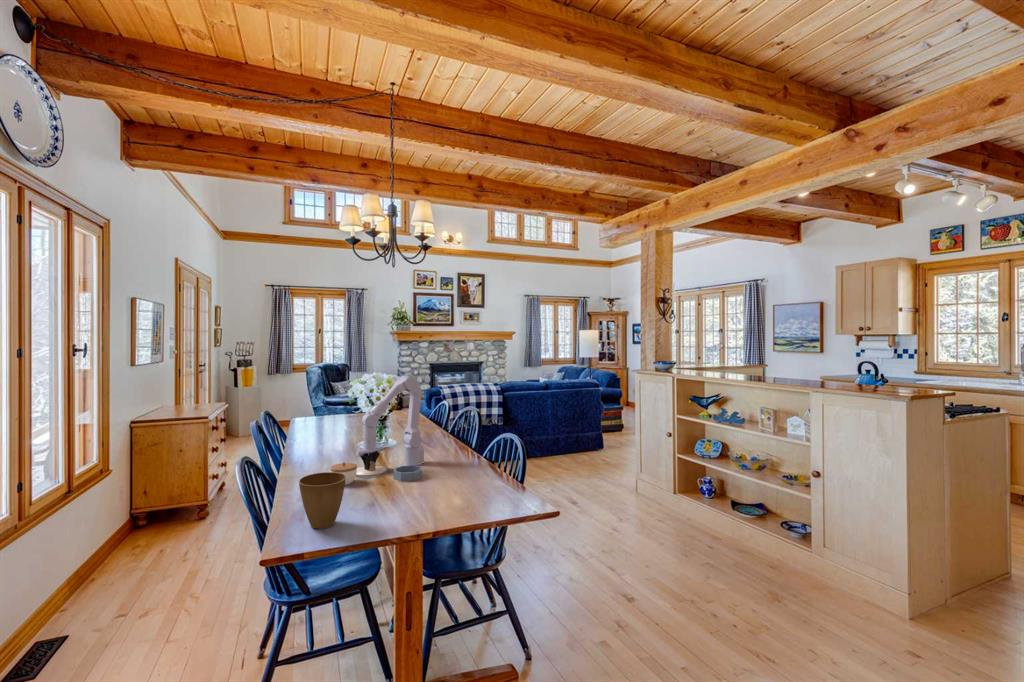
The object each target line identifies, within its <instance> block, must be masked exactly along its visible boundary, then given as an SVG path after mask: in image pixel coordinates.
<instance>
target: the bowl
mask: <svg viewBox="0 0 1024 682" xmlns="http://www.w3.org/2000/svg"><path fill="white" fill-rule="evenodd" d="M393 469H394V471H393V480H395V481H398V482H400V481H401V482H400V483H406V482H405V481H410V482H415V481H414V480H416V481H418V480H417V479H419V478H421V479H422V477H423V476H422V475H423V474H422V473H423V472H422V471H423V470H422V466H420V465H417V466H415V465H408V466H404V465H400V466H397V467H394V468H393ZM419 480H420V479H419Z"/></svg>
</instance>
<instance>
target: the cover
mask: <svg viewBox="0 0 1024 682" xmlns="http://www.w3.org/2000/svg"><path fill="white" fill-rule="evenodd" d="M375 465H376V463H375V462H371V461H370V468H369V470H366V469H365V466H364V465H363V466H360V467H357V472H356V475H358V476H373V475H378V474H382V473H384V472H386V468H385V467H386V466H384V465H379V466H375Z"/></svg>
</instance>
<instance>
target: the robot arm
mask: <svg viewBox="0 0 1024 682" xmlns="http://www.w3.org/2000/svg"><path fill="white" fill-rule="evenodd" d="M402 392H406V393H407V394H409V405H408V415H407V424H406V425H407V426H406V428H405V429H404V433H403V434H402V438H401V440H402V443H404V448H403V451H404V453H403V454H404V456H403V457H404V461H403V463H400V466H408V465H415V466H416V465H417V466H420V465H423V464H422V462H425V450H424V447H423V446H422V445H421V444H422V438H421V431H420V429H419V423H420V413H421V412H420V411H421V403H422V402H421V401H422V390H421V387H420V385H419V381H418V380H417V379H416V378H415V377H414V376H410V375H409V376H408V375H403V374H402V375H400V376H399V377H398V379H396V380H395V382H394V384H393V385H391V388H390V389H389V390H388V391H387V393H386V394H385V396H384V397H383V399H381V400H378V401H376V402H374V404H373V406H372V408H370V409H369V410H368V411H367V413H365V414H364V415H363V416H362V419H361V420H360V422H361V424H362V425H363V427H362V428H363V429H362V431H363V433H362V435H363V436H362V437H363V440H362V441H363V442H362V443H363V447H362V449H360V450H357V451H355V457H357V458H358V457H360V458H361V460H362V462H363V467H364V466H365V469H366V470H369V468H370V461H371V462H375V464H376V462H377V460H378V458H379V456H380V452H381V451H382V452H383V451H384V446H383V445H378V446H377V427H376V426H377V425H378V423H379V419H380V418H381V417H382V416H383V414H384V413H385V412H386V411H387V410H388V408H389V407H388V405H389V404H390V403H391V402H392V401H393V399H395V397H397V395H398V394H399V393H402ZM419 463H420V465H419Z"/></svg>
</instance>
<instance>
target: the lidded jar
mask: <svg viewBox="0 0 1024 682" xmlns="http://www.w3.org/2000/svg"><path fill="white" fill-rule="evenodd" d="M357 465H358V464H356V463H353V462H344V461H343V462H342V463H337V464H333V465H332V466H330V472H336V473H342V474H344V475H345V476H346V481H345V486H349V485H351V484H352V483H353V482H354V481H355V479H356V478H357V477H356V472H357V468H358V466H357Z"/></svg>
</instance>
